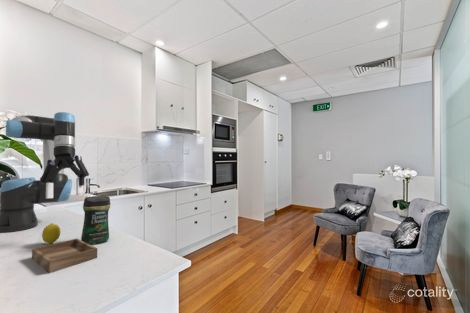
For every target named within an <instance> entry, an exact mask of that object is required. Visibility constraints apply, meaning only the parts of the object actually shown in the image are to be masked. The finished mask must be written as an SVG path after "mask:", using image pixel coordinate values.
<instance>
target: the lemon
mask: <svg viewBox="0 0 470 313" xmlns="http://www.w3.org/2000/svg"><path fill="white" fill-rule="evenodd" d="M60 235H61V228H60V226H59V225H57V224H55V223H50V224H48V225H47V226H45V227H44V228H43V231H42V232H41V237H42V241H43V242H45V243H47V244H49V245H52V244H54V243H56V241H58V240H59V238H60Z"/></svg>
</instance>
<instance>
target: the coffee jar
mask: <svg viewBox="0 0 470 313" xmlns="http://www.w3.org/2000/svg"><path fill="white" fill-rule="evenodd" d="M82 209H83V212H84V217H83V219H84V220H83V226H82V231H81V238H80V240H81V241H83V242H85V243H87V244H89V245H92V246H93V245H97V244H103V243H106V242H107V241H109V239H110V231H109V210H110V209H111V198H110V197H109V196H108V195H93V196H86V197H84V200H83V204H82Z"/></svg>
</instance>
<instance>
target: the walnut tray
mask: <svg viewBox="0 0 470 313" xmlns="http://www.w3.org/2000/svg"><path fill="white" fill-rule="evenodd" d="M96 259H98V247H95V246H94V245H93V244H92V245H89V244H87V243H85V242H83V241H81V239H79V238H73V239H68V240H65V241H64V240H63V241H60V242H55V243H52V244H49V245H44V246H40V247H35V248H32V250H31V260H33V261H34V262H35V263H37V265H38V266H41V268H42V269H44V270H45V271H46V272H48V273H49V274H51V273H54V272H57V271H62V270H63V269H66V268H69V267H73V266H76V265H79V264H81V263H82V264H83V263H85V262H88V261H91V260H96Z"/></svg>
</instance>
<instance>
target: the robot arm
mask: <svg viewBox="0 0 470 313" xmlns="http://www.w3.org/2000/svg"><path fill="white" fill-rule="evenodd" d="M5 136H6V137H8V138H12V139H13V138H14V139H26V140H27V139H31V140H40V141H41V142H42V153H43V154H42V157H43V159H42V160H43V161H42V162H43V173H42V175H41V176H40V178H39V179H38V180H36V177H24V178H23V177H22V178H14V179H9V180H5V181H3V182H2V183H1V186H0V233H11V232H19V231H24V230H29V229H32V228H35V227H37V226H38V223H39V222H38V221H39V220H38V217H37V215H36V213H35V210H34V208H35V204H36V205H37V204H49V203H51V204H52V203H62V202H67V201H68V200H69V199H70V197H71V193H72V189H73V188H72V187H73V179H70V178H69V177H68V174H66V173H65V169H70V170H71V171H72V173H74V174H75V176H76V178H75V184H76V186H75V190H76V191H75V193H76V195H83V194H84V185H85V177H88V176H89V175H90V174H89V172H88V169H87V168H86V166H85V163H84V162H83V158H82V156H81V155H77V154H76V148H75V147H76V117H75V115H74V114H73V113H70V112H65V111H61V112H60V111H59V112H55V113H54V116H53V117H48V116H47V117H45V116H38V115H18V116H16V117H13V118H12V119H8V120H6V122H5ZM74 162H75V163H74Z"/></svg>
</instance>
